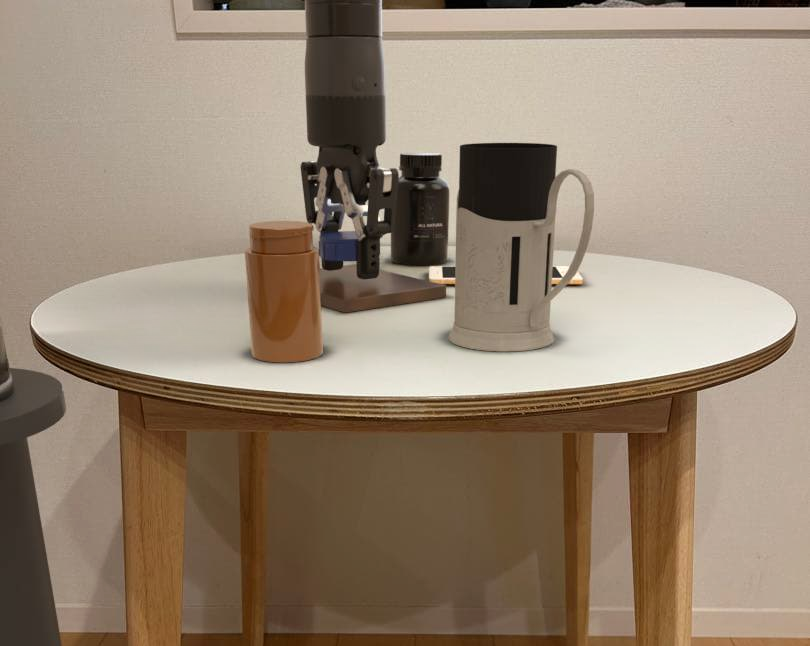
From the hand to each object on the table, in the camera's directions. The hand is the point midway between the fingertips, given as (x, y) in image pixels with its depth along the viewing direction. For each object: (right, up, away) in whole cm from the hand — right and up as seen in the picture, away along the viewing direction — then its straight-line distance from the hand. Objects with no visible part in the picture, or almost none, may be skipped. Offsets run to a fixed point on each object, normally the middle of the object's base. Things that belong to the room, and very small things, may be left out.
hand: (349, 273), depth 102 cm
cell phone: (+16, +1, +7) cm, 18 cm away
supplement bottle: (+7, +6, +18) cm, 20 cm away
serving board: (0, -2, +1) cm, 2 cm away
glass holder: (+15, -11, -20) cm, 27 cm away
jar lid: (0, +3, -1) cm, 3 cm away
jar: (-4, -12, -22) cm, 26 cm away
